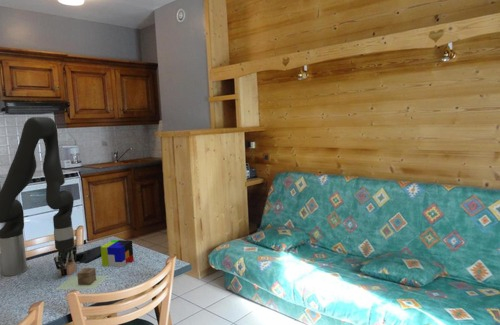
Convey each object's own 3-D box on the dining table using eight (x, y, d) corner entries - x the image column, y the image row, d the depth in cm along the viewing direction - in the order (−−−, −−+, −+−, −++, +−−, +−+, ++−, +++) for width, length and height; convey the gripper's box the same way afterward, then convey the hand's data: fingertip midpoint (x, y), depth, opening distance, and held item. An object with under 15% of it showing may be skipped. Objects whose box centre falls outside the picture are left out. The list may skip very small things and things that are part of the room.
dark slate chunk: (113, 253, 182) (113, 244, 181) (73, 270, 163) (72, 260, 163) (95, 249, 190) (94, 240, 189) (54, 264, 171) (53, 254, 171)
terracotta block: (59, 277, 154) (58, 266, 154) (65, 272, 159) (64, 261, 159) (70, 277, 154) (69, 266, 154) (76, 272, 159) (75, 261, 159)
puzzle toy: (122, 269, 161) (120, 248, 160) (102, 268, 163) (100, 247, 162) (133, 260, 171) (132, 240, 169) (114, 259, 173) (113, 239, 171)
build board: (55, 292, 141) (55, 289, 141) (72, 278, 153) (71, 276, 152) (94, 291, 140) (94, 288, 140) (108, 278, 152) (108, 275, 152)
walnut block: (78, 285, 144) (77, 273, 143) (84, 279, 149) (83, 268, 148) (90, 284, 143) (89, 273, 143) (96, 279, 148) (95, 267, 148)
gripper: (65, 231, 162) (68, 267, 164) (45, 242, 148) (49, 281, 150) (81, 231, 162) (84, 267, 164) (63, 242, 147) (67, 281, 149)
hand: (67, 273), depth 157 cm, fingers closed on terracotta block, 5 cm apart
